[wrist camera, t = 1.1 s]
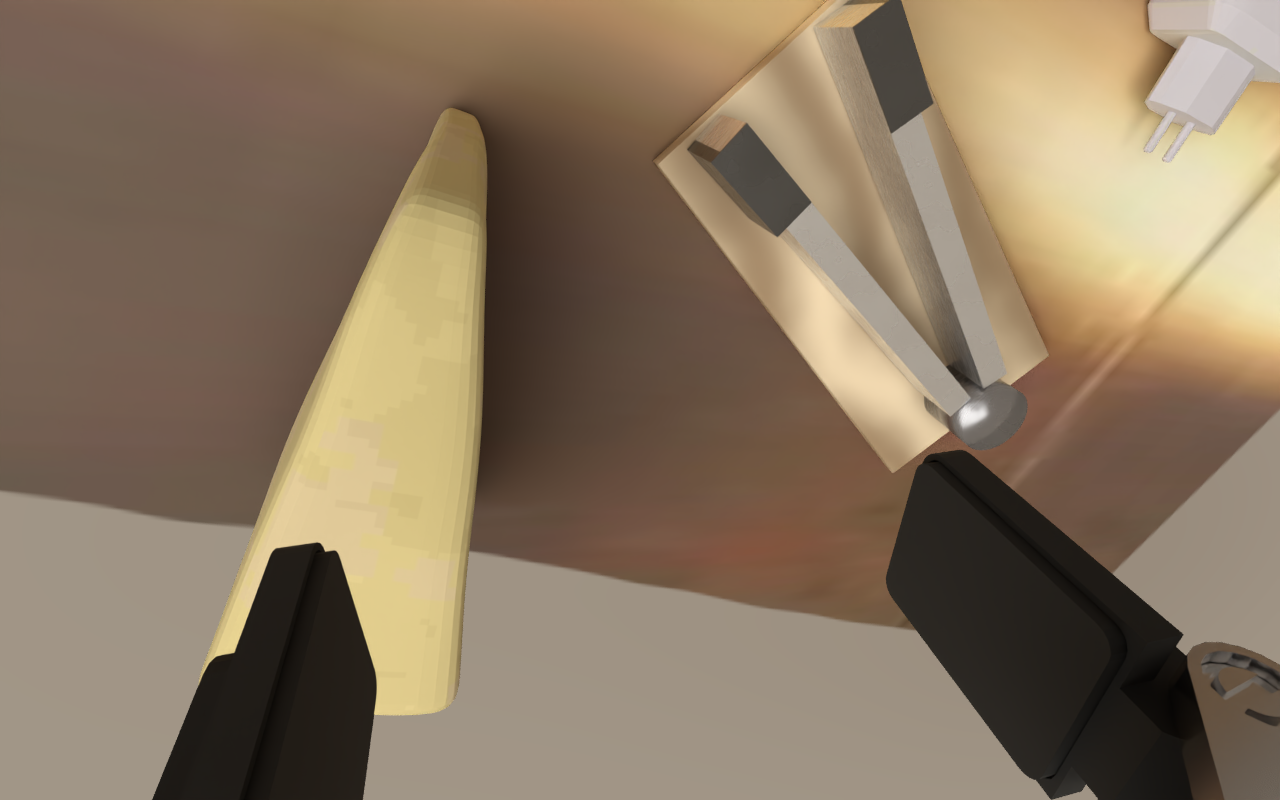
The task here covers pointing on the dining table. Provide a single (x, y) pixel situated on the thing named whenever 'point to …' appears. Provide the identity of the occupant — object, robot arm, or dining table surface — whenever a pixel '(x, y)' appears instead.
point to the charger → (1210, 60)
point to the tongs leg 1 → (819, 251)
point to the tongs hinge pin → (983, 413)
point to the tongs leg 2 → (910, 173)
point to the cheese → (396, 434)
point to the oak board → (846, 241)
